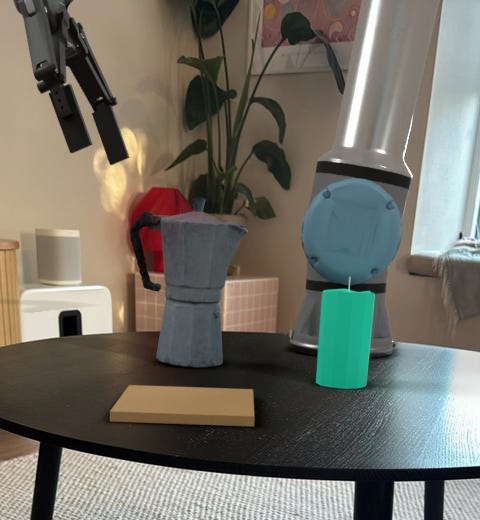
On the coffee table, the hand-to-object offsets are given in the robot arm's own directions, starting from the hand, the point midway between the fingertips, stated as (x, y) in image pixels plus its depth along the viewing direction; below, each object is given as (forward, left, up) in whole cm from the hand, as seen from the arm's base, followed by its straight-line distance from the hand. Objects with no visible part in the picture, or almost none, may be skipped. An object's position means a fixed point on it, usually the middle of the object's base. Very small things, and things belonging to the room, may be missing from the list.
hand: (101, 155), depth 94 cm
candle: (-30, +16, -25) cm, 42 cm away
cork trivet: (-13, +32, -24) cm, 42 cm away
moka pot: (-11, +5, -25) cm, 27 cm away
